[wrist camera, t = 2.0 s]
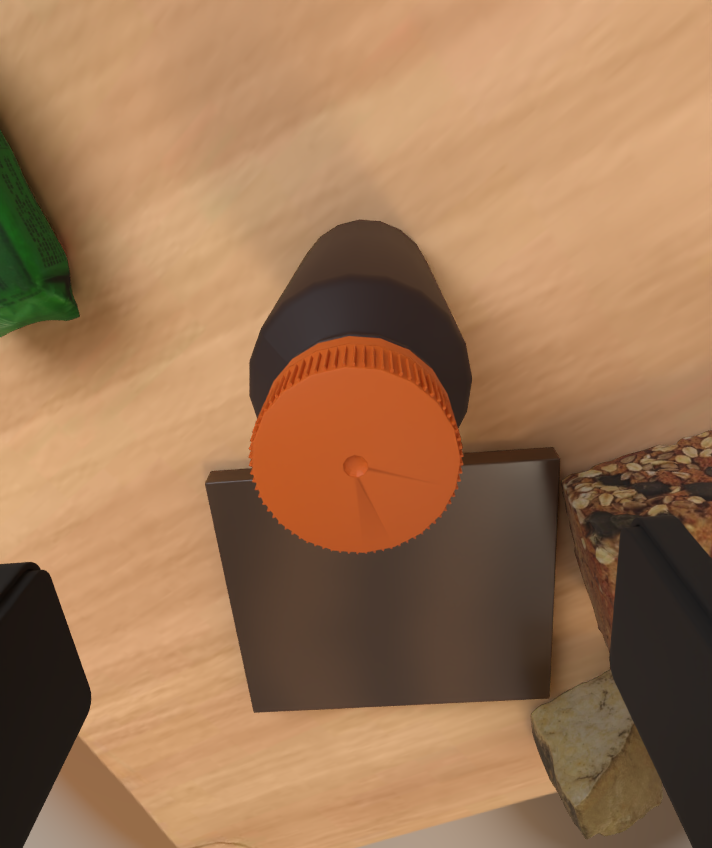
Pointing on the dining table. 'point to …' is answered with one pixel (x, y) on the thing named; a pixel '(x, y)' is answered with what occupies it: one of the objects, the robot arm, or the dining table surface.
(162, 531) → the dining table surface
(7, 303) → the snack package
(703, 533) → the bread
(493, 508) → the serving board
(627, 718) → the rock
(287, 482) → the vinegar
